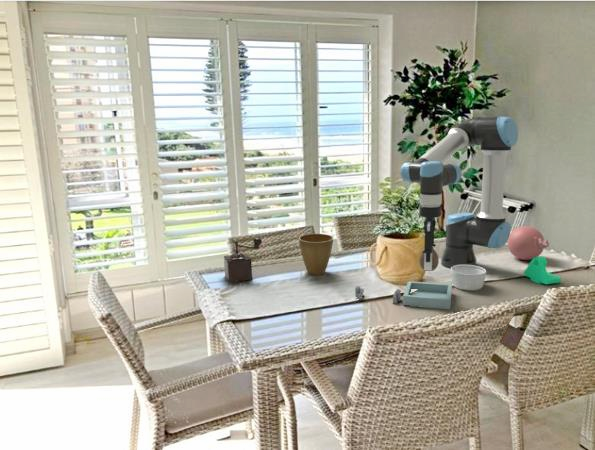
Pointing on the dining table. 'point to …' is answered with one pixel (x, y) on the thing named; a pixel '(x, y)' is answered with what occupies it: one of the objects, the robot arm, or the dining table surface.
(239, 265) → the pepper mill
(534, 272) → the green curved piece
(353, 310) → the dining table surface
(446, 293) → the parts bin
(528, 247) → the balloon
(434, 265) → the vase
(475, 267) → the ramekin
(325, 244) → the plant pot
